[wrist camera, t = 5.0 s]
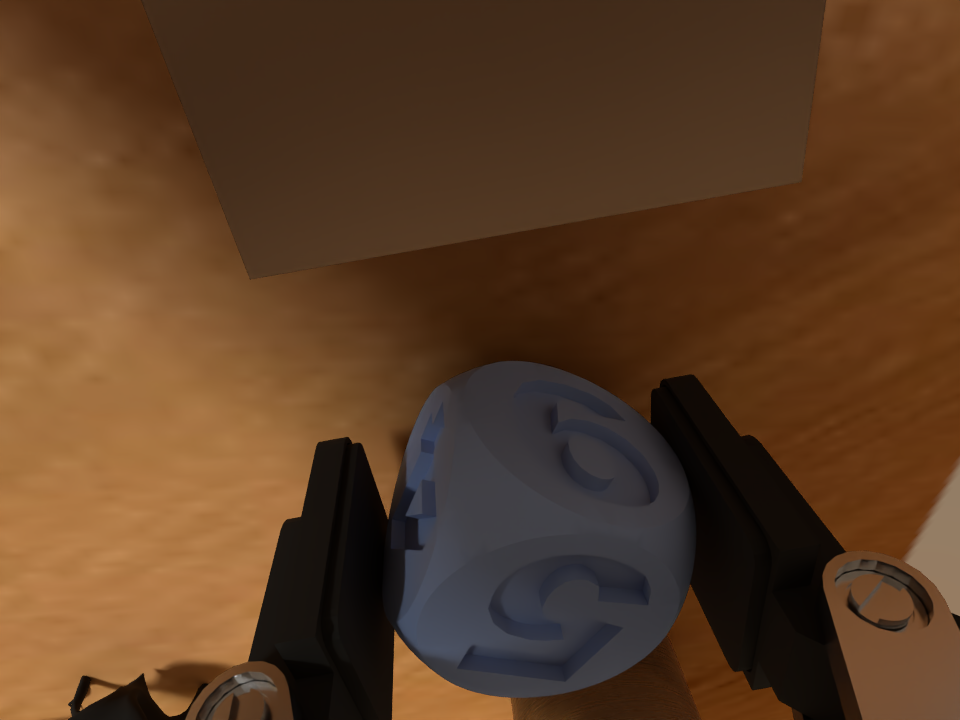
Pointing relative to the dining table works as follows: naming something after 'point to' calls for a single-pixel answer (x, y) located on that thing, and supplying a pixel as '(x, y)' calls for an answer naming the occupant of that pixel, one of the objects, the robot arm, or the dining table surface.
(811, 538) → the robot arm
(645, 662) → the dark metal cylinder
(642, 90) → the walnut block
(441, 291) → the dining table surface
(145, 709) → the creature
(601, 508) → the decorative dice
